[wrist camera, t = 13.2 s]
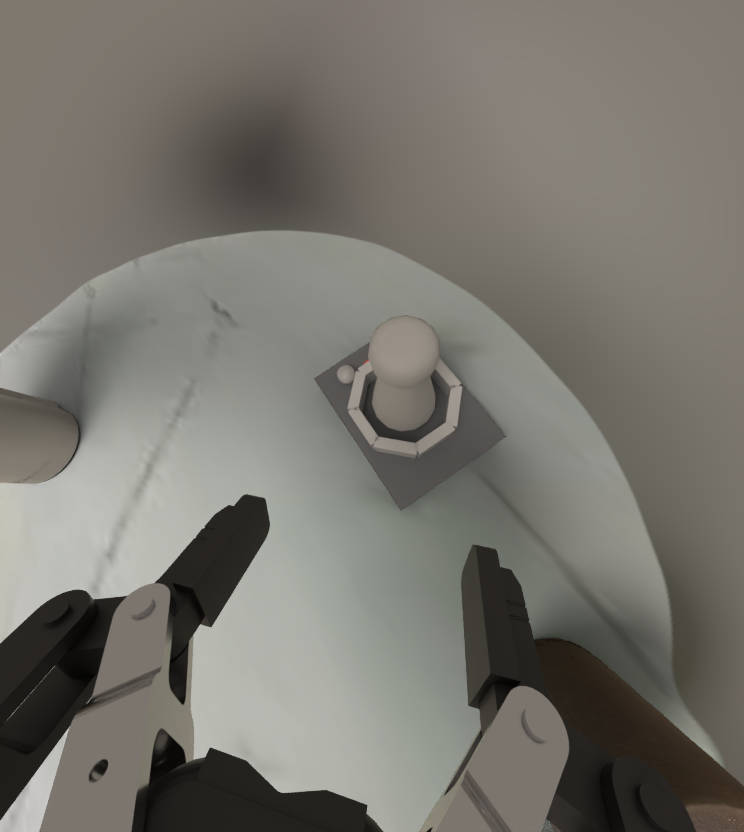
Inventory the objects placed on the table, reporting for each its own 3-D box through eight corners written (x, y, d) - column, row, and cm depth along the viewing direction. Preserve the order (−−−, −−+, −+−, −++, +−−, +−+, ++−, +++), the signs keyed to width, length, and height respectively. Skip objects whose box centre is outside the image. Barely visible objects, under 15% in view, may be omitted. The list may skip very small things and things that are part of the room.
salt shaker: (393, 371, 30) (387, 282, 17) (443, 397, 29) (475, 321, 16) (363, 418, 29) (334, 359, 16) (413, 447, 28) (423, 408, 15)
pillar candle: (516, 617, 26) (658, 779, 11) (637, 670, 24) (995, 946, 9) (486, 741, 24) (614, 1132, 9) (616, 810, 22) (1027, 1430, 7)
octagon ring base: (321, 388, 33) (306, 368, 28) (406, 333, 34) (406, 303, 29) (401, 508, 29) (400, 512, 24) (496, 442, 30) (516, 430, 25)
